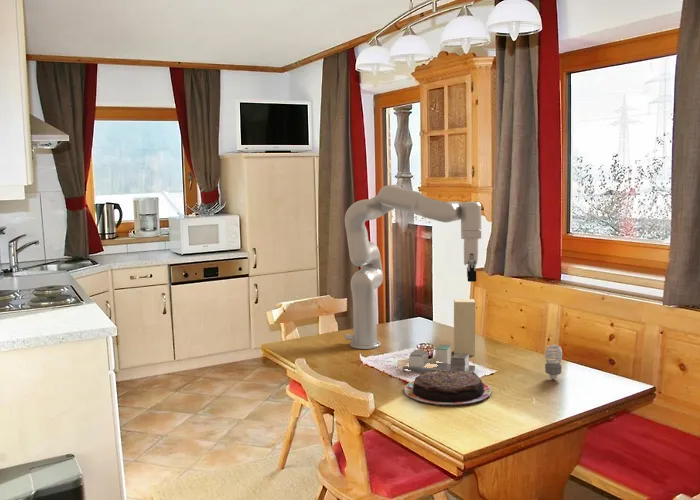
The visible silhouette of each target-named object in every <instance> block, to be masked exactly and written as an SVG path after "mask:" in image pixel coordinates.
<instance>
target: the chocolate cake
mask: <svg viewBox="0 0 700 500" xmlns="http://www.w3.org/2000/svg"><path fill="white" fill-rule="evenodd" d="M403 392H404V394H405V396H407V397H408V398H410V399H413V400H416V402H418V403H419V404H431V405H436V406H439V407H465V406H467V407H468V406H471V405H472V404H479V403H482V402H484V400H487V399H490V396H491V394H492V392H493V390H492V387H490V386H489V385H488V384H486V383H484V382H482V379H481V378H480V377H479V375H478V374H477V373H475V371H474V372H472V373H468V372H461V371H448V369H447V370H431V371H429V372H426V373H421V374H419V375H417V376H416V377H415V379H414V380H412V381H410V382H408V383H407V384H406V385H405V386H404V390H403Z"/></svg>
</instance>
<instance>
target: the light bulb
mask: <svg viewBox="0 0 700 500" xmlns="http://www.w3.org/2000/svg"><path fill="white" fill-rule="evenodd" d="M544 351H545V352H544V355H545V356H544V358H545V361H546V362H545V364H544V365H545V366H544V369H545V373H546V374H548V375H549V378H550V379H551V381H552V380H553V381H554V380H556V379H557V378H558V375H560V374H562V369H563V368H562V364H561V362H562V359H563V350H562V347H561V346H559V345H558V344H552V345H547V346H546V347H545V349H544Z"/></svg>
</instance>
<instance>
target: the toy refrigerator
mask: <svg viewBox="0 0 700 500" xmlns="http://www.w3.org/2000/svg"><path fill="white" fill-rule="evenodd" d="M453 353H454V354H455V353H464V354H468V355H469V357H470V356H473V357H474V356H476V301H475V299H474V298H454V299H453ZM454 354H453V355H454Z"/></svg>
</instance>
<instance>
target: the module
mask: <svg viewBox="0 0 700 500" xmlns="http://www.w3.org/2000/svg"><path fill="white" fill-rule="evenodd" d="M434 356H435V359H434V360H435V361H439V362H443V363H449V364H450V363H451V358H452V345H451V344H439V345H438V346H437V347H436V348H435V354H434Z"/></svg>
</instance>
